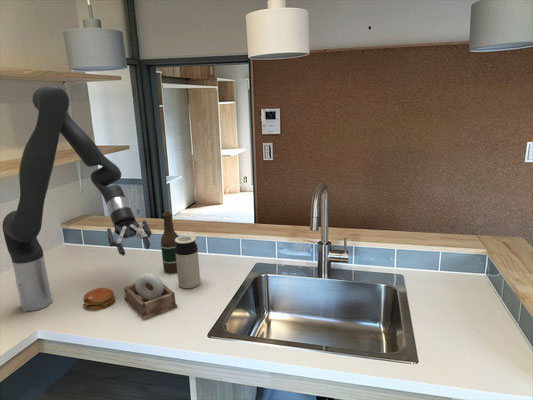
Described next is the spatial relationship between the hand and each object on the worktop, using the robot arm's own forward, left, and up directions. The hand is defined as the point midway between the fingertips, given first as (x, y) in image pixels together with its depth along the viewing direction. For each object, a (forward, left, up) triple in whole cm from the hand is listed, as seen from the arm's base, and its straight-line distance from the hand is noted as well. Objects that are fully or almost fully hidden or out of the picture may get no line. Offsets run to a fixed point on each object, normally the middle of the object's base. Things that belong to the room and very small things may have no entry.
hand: (136, 251), depth 140 cm
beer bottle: (+18, +13, -17) cm, 28 cm away
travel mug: (+17, -3, -17) cm, 24 cm away
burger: (-13, +4, -17) cm, 22 cm away
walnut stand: (0, -7, -17) cm, 18 cm away
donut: (+1, -7, -16) cm, 18 cm away
